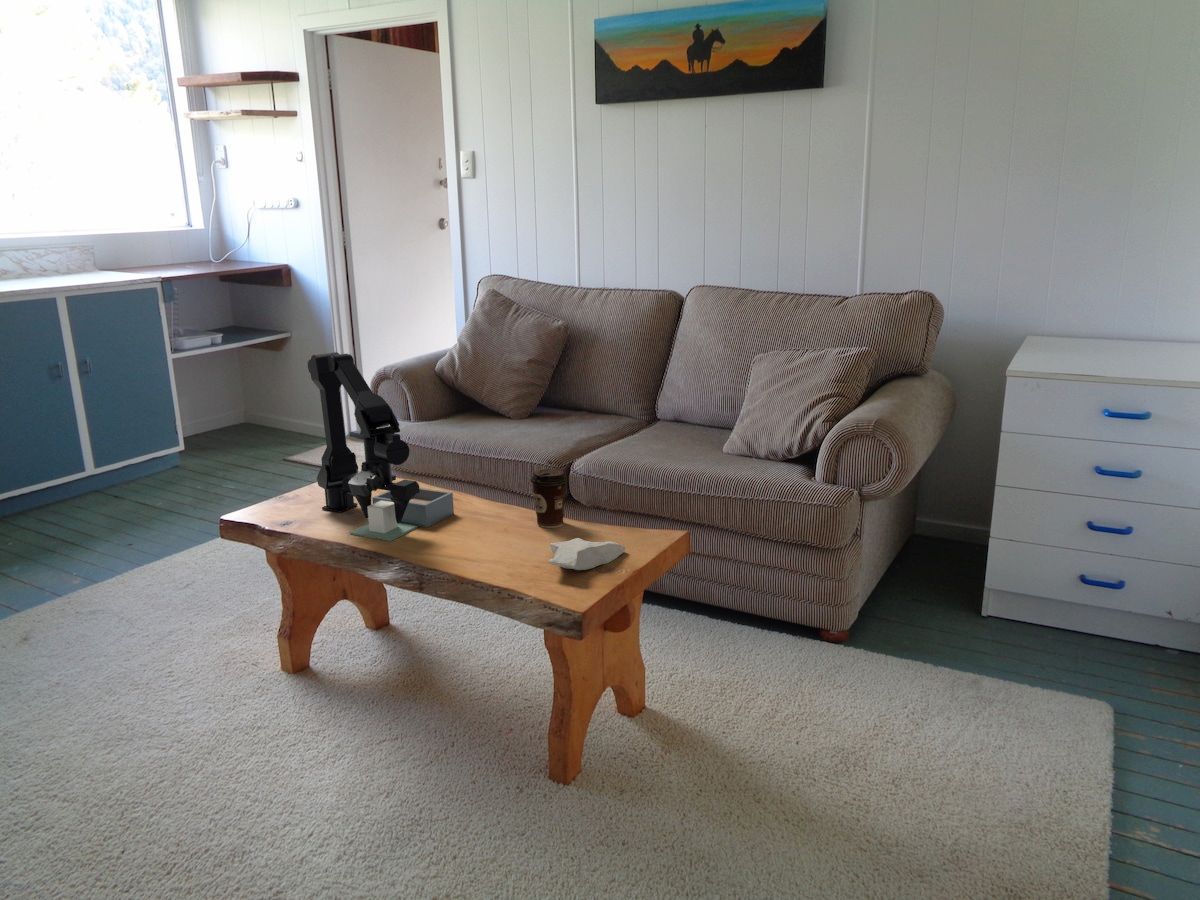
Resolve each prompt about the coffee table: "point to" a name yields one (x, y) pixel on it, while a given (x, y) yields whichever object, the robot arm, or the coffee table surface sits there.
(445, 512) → the slot box
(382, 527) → the block
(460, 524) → the coffee table surface
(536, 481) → the coffee cup
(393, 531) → the board
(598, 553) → the rock
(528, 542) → the coffee table surface
